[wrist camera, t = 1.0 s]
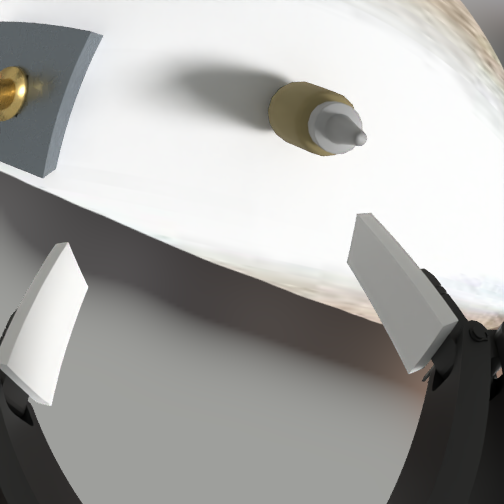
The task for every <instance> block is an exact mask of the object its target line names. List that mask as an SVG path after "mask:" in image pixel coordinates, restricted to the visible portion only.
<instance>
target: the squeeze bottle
mask: <svg viewBox="0 0 504 504" xmlns="http://www.w3.org/2000/svg"><path fill="white" fill-rule="evenodd" d="M268 114H269V123H270V125H271V126H272V128H273V130H274V132H275V133H276V134H277V135H278V136H279V137H281V138H282V139H283V140H284V141H286V142H288V143H290V144H293V145H295V146H297V147H300V148H302V149H304V150H306V151H309V152H311V153H314V154H317V155H320V156H330V155H336V154H344V153H346V152H348V151H350V150H352V149H353V148H354V147H355V146H362V145H364V144H365V142H366V140H367V136H366V134H365V133H364V132H363V131H362V121H361V119H360V116H359V114H358V113H357V112H356V111H355V110H354V107H353V105H352V104H351V103H350V102H349V101H348V100H347V99H346V98H345V97H344V96H343V95H340V94H338V93H336V92H333V91H330V90H328V89H325V88H322V87H319V86H316V85H313V84H310V83H307V82H292V83H289V84H287V85H285V86H283V87H281V88H280V89H279V90H278V91H277V92H276V93H275V95H274V96H273V97H272V99H271V102H270V105H269V109H268Z"/></svg>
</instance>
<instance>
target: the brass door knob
mask: <svg viewBox="0 0 504 504" xmlns="http://www.w3.org/2000/svg"><path fill="white" fill-rule="evenodd" d="M28 76H29V75H26V73H25V71H24V70H23V69H22V68H20V67H18V66H12V67H7V68H5V69H3V70H2V71H0V121H6V120H9V119H11V118H13V117H15V116H16V115H17V114H18V113H19V112H20V110H21V109H22V107H23V105H24V103H25V101H26V98H27V94H28Z"/></svg>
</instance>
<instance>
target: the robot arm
mask: <svg viewBox="0 0 504 504" xmlns="http://www.w3.org/2000/svg"><path fill="white" fill-rule="evenodd" d="M347 263H348V265H349V267H350V268H351V270H352V271H353V273H354V275H355V276H356V278H357V280H358V281H359V283H360V285H361V286H362V288H363V290H364V292H365V293H366V295H367V297H368V298H369V300H370V302H371V304H372V305H373V307H374V309H375V311H376V313H377V314H378V316H379V318H380V320H381V322H382V323H383V325H384V327H385V329H386V331H387V333H388V334H389V336H390V338H391V340H392V342H393V344H394V346H395V348H396V350H397V352H398V354H399V356H400V358H401V360H402V362H403V364H404V366H405V368H406V370H407V372H408V374H410V373H413V372H415V371H418V370H420V369H423V368H424V367H425V366H426V365H427V364H428V362H429V361H430V360H432V362H433V363H434V365H433V367H432V368H431V369H430V370H429V371H428V373H427V374H426V375H425V376H424V378H423V380H422V381H425V380H426V379H427V378H428V377H429V376H430V377H429V381H428V387H427V391H426V395H425V400H424V404H423V408H422V412H421V415H420V419H419V422H418V426H417V429H416V432H415V435H414V438H413V441H412V444H411V448H410V450H409V453H408V456H407V458H406V461H405V464H404V467H403V469H402V471H401V474H400V476H399V478H398V481H397V483H396V485H395V487H394V490H393V492H392V494H391V496H390V499H389V500H388V502H387V504H504V322H503V323H502V324H501V326H500V327H499V329H498V330H487V329H486V328H485V327H484V326H483V325H482V324H481V323H479V322H477V321H473V320H471V321H468V320H467V319H466V318H465V316H464V315H463V313H462V312H461V311H460V309H459V308H458V306H457V305H456V304H455V302H454V301H453V300H452V298H451V297H450V296H449V294H447V292H446V290H445V289H444V288H443V287H441V284H440V283H439V281H438V280H437V279H436V278H435V276H434V275H432V274H431V273H430V272H428V271H427V270H426V269H420V268H419V267H418V266H417V264H416V263H415V262H414V261H413V259H412V258H411V257H410V256H409V255H408V254H407V252H406V251H405V250H404V249H403V248H402V247H401V245H400V244H399V243H398V242H397V241H396V240H395V239H394V237H393V236H392V235H391V234H390V233H389V232H388V231H387V230H386V229H385V227H384V226H383V225H382V224H381V223H380V222H379V221H378V220H377V219H376V218H375V217H374V216H373V215H372V214H371V213H364V214H357V217H356V222H355V227H354V232H353V237H352V242H351V246H350V251H349V255H348V260H347ZM87 289H88V286H87V284H86V282H85V280H84V277H83V275H82V273H81V271H80V269H79V266H78V264H77V262H76V260H75V258H74V255H73V253H72V250H71V248H70V245H69V243H68V242H66V243H59V244H56V245H55V246H54V248H53V249H52V251H51V252H50V254H49V255H48V257H47V258H46V260H45V262H44V263H43V265H42V266H41V268H40V269H39V271H38V273H37V274H36V276H35V278H34V280H33V281H32V283H31V285H30V287H29V288H28V290H27V292H26V294H25V296H24V297H23V300H22V301H21V303H20V305H19V307H18V308H17V310H16V311H15V312H14V313H13V314H12V316H11V317H10V319H9V321H8V323H7V325H6V329H5V330H4V332H3V336H2V337H1V338H0V504H82V502H81V501H80V499H79V498H78V496H77V495H76V493H75V492H74V490H73V489H72V487H71V485H70V484H69V482H68V481H67V479H66V477H65V475H64V474H63V472H62V470H61V468H60V466H59V465H58V463H57V461H56V459H55V457H54V455H53V453H52V451H51V449H50V447H49V445H48V443H47V441H46V439H45V436H44V434H43V432H42V430H41V427H40V425H39V423H38V420H37V418H36V415H35V413H34V410H33V407H32V405H31V404H30V403H29V402H28V397H29V396H30V397H31V398H33V399H34V400H35V401H36V402H37V403H41V404H45V405H50V406H51V405H52V400H53V395H54V391H55V387H56V383H57V379H58V375H59V371H60V367H61V364H62V361H63V357H64V354H65V351H66V347H67V344H68V341H69V338H70V335H71V332H72V329H73V326H74V323H75V320H76V318H77V314H78V312H79V309H80V307H81V304H82V301H83V299H84V296H85V294H86V291H87ZM501 367H502V372H503V374H502V375H501V376H500V377H499V378H497V376H496V372H497V371H498V370H499V369H500V368H501Z"/></svg>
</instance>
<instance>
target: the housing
mask: <svg viewBox="0 0 504 504" xmlns="http://www.w3.org/2000/svg"><path fill="white" fill-rule="evenodd" d="M102 37H103V36H102V35H100V34H97V33H94V32H90V31H85V30H80V29H75V28H69V27H63V26H56V25H48V24H38V23H26V22H0V71H2V70H3V69H5V68H7V67H12V66H18V67H20V68H22V69H23V70H24V71H25V73H26V75H29V76H28V94H27V98H26V101H25V103H24V105H23V107H22V109H21V110H20V112H19V113H18V114H17V115H16V116H15V117H13V118H11V119H9V120H6V121H0V161H1V162H3V163H6V164H8V165H11V166H13V167H16V168H18V169H21V170H23V171H26V172H28V173H31V174H33V175H36V176H38V177H41V178H44V177H45V176H47V175H48V174H49V173H51V172H52V171H53V170H55V169H56V166H57V161H58V157H59V153H60V149H61V145H62V141H63V137H64V134H65V130H66V127H67V123H68V120H69V117H70V114H71V111H72V108H73V105H74V102H75V99H76V96H77V94H78V91H79V88H80V86H81V83H82V81H83V78H84V76H85V73H86V71H87V69H88V66H89V64H90V62H91V60H92V57H93V55H94V53H95V51H96V49H97V47H98V45H99V43H100V41H101V39H102Z"/></svg>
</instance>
